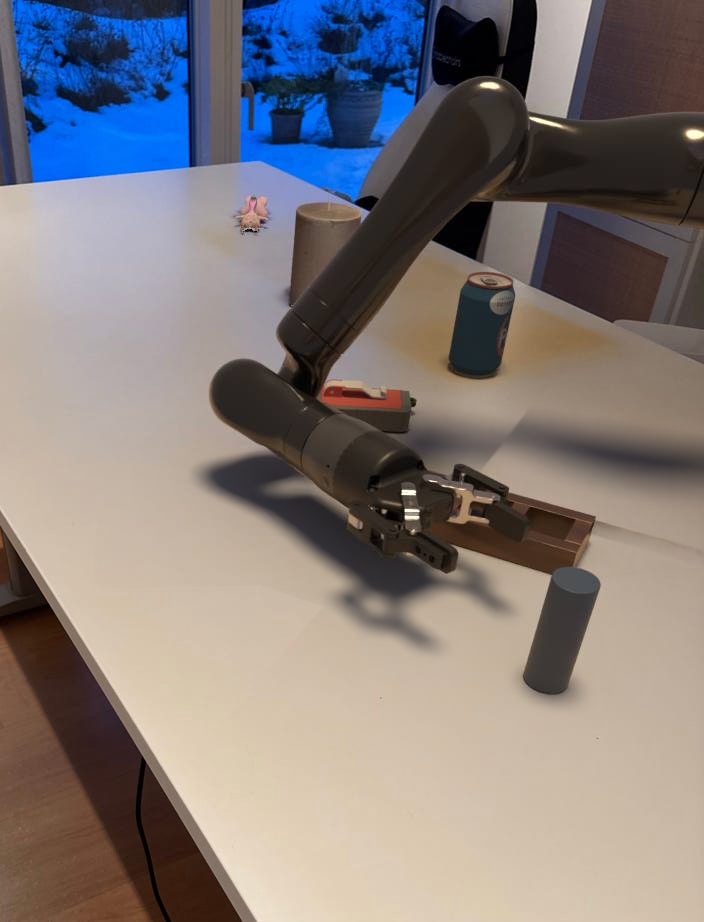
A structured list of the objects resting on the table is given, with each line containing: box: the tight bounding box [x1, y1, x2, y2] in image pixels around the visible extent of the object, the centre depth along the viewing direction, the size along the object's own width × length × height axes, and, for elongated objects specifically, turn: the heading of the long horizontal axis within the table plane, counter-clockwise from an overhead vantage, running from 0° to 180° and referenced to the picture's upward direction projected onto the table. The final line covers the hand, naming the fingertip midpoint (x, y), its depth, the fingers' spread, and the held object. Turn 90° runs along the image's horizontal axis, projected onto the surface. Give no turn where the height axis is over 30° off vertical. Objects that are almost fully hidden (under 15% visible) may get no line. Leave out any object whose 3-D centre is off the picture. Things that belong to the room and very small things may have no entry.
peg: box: [522, 566, 602, 695], centre depth 75 cm, size 4×4×10 cm
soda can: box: [448, 271, 516, 379], centre depth 125 cm, size 7×7×12 cm
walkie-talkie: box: [317, 378, 417, 433], centre depth 115 cm, size 9×4×20 cm
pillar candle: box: [288, 200, 363, 306], centre depth 142 cm, size 10×10×15 cm
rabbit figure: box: [235, 194, 269, 231], centre depth 179 cm, size 6×6×15 cm
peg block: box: [394, 469, 597, 575], centre depth 95 cm, size 8×20×3 cm, turn 60°
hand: (491, 547), depth 78 cm, fingers open, 8 cm apart
